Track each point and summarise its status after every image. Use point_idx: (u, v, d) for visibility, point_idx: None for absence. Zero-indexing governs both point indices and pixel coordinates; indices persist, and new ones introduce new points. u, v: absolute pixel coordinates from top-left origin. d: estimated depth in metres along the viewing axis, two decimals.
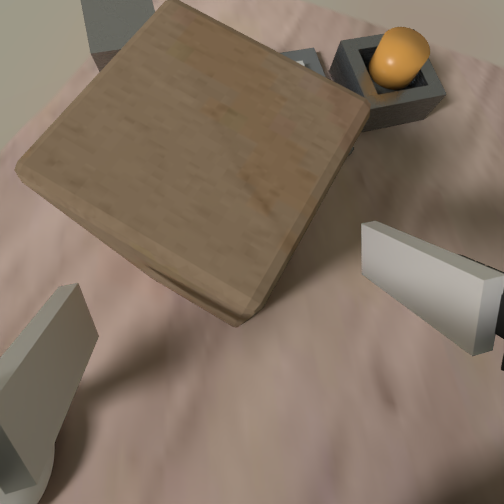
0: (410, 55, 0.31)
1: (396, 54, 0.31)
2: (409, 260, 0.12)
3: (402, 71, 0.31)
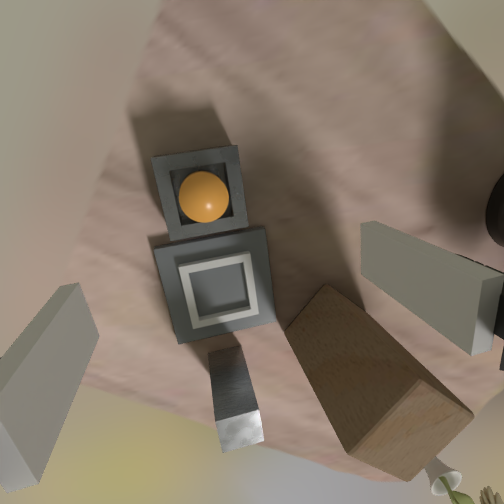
0: (215, 195, 0.32)
1: (213, 210, 0.32)
2: (408, 260, 0.12)
3: None
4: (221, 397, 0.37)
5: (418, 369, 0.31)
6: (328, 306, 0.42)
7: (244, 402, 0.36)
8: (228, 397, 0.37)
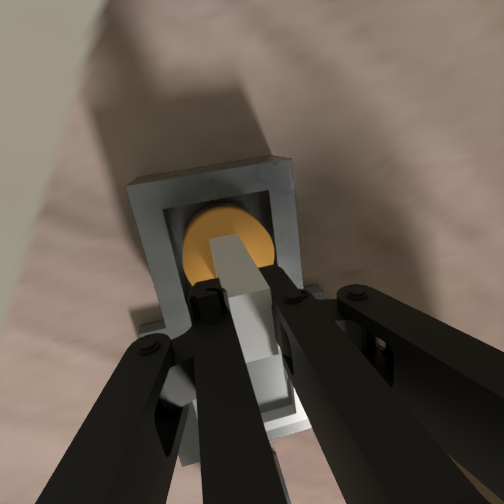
0: (251, 253, 0.17)
1: None
2: None
3: None
4: None
5: None
6: None
7: None
8: None
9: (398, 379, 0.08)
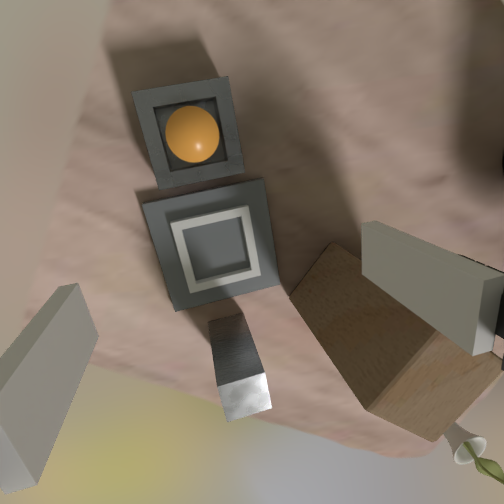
0: (205, 132, 0.29)
1: (203, 148, 0.30)
2: (409, 260, 0.12)
3: None
4: (223, 363, 0.34)
5: None
6: (336, 263, 0.38)
7: (248, 366, 0.33)
8: (230, 362, 0.34)
9: None
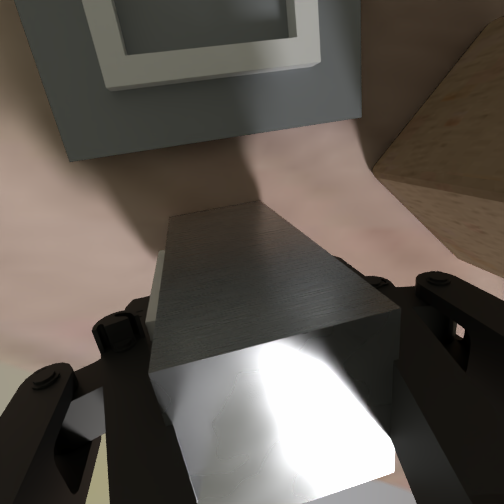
0: None
1: None
2: None
3: None
4: (197, 285, 0.08)
5: None
6: None
7: (305, 290, 0.07)
8: (227, 282, 0.08)
9: (472, 365, 0.08)
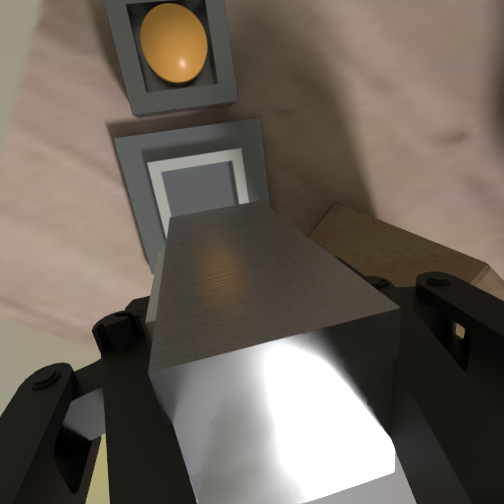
0: (189, 40, 0.24)
1: (187, 62, 0.24)
2: None
3: None
4: (197, 285, 0.08)
5: None
6: (341, 223, 0.33)
7: (305, 290, 0.07)
8: (227, 282, 0.08)
9: (472, 365, 0.08)
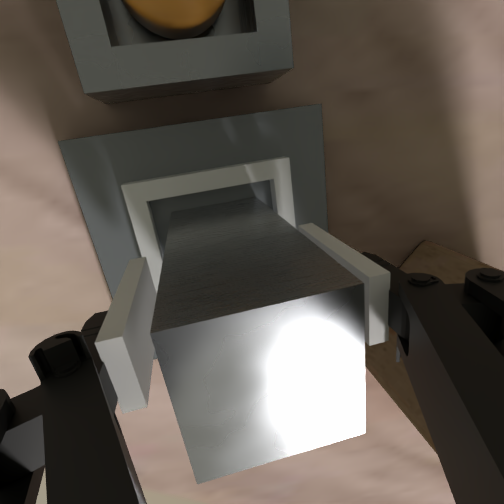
0: None
1: None
2: None
3: None
4: (193, 268, 0.10)
5: None
6: (450, 280, 0.20)
7: (286, 270, 0.09)
8: (220, 266, 0.10)
9: None
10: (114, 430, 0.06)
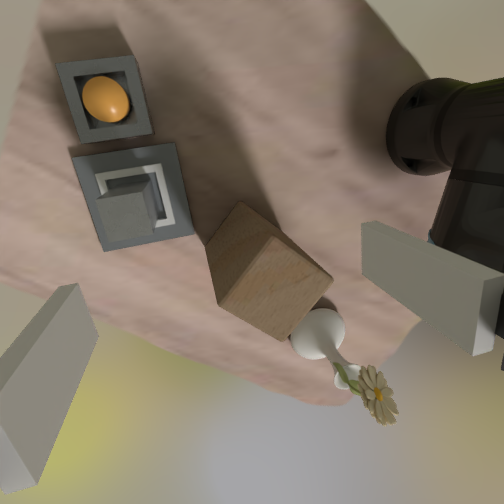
0: (114, 97, 0.38)
1: (114, 111, 0.38)
2: (409, 260, 0.12)
3: (127, 106, 0.39)
4: (110, 193, 0.37)
5: (286, 241, 0.36)
6: (236, 215, 0.47)
7: (130, 191, 0.36)
8: (117, 192, 0.37)
9: None
10: None
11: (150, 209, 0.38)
